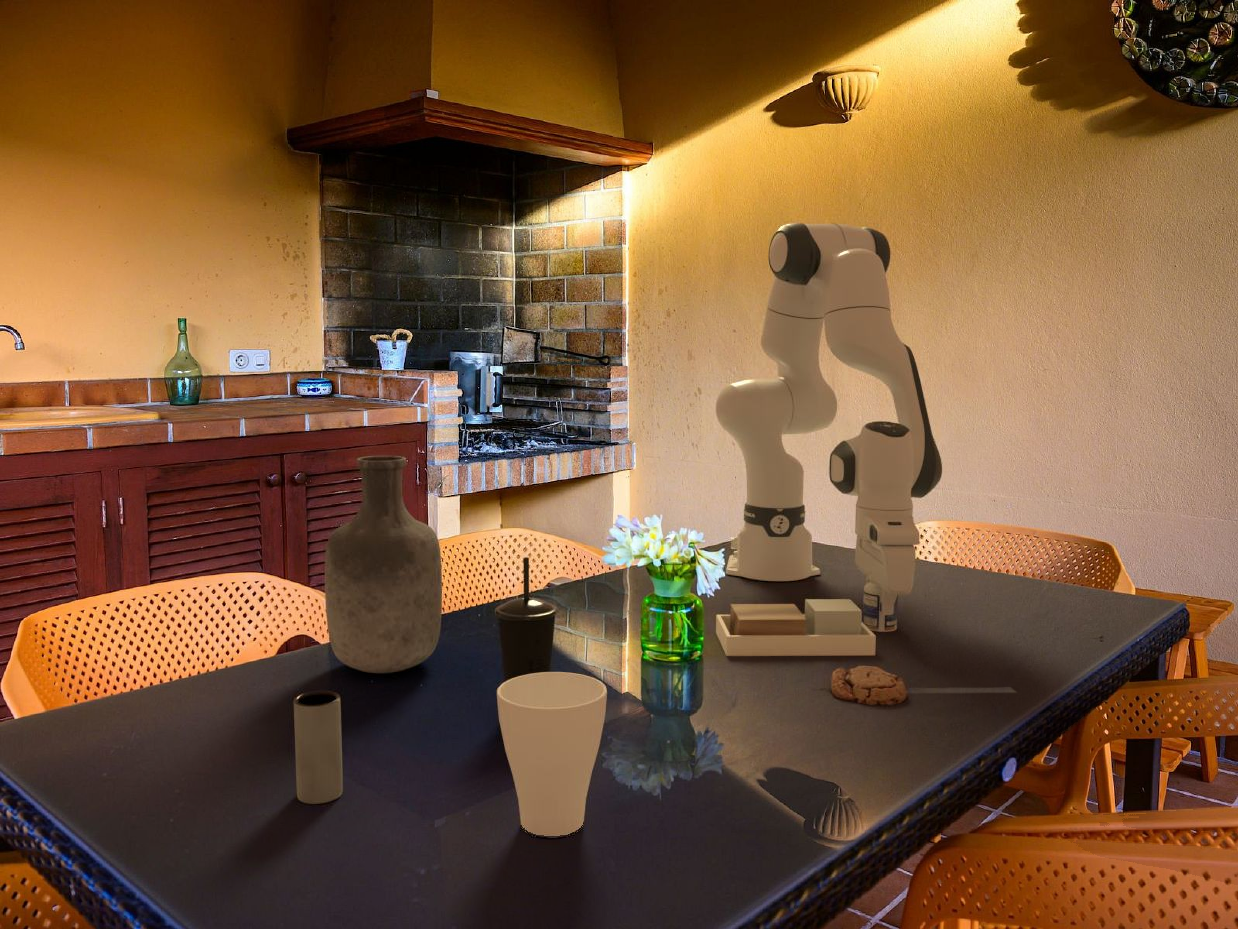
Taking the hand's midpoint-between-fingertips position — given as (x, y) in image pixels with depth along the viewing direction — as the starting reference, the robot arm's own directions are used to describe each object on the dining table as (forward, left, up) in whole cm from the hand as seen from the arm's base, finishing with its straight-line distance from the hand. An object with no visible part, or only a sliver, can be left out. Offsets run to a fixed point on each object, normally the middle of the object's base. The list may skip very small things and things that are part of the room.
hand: (880, 608), depth 166 cm
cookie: (+29, -10, -4) cm, 31 cm away
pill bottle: (0, 0, -4) cm, 4 cm away
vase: (+18, -76, -4) cm, 78 cm away
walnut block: (+9, -20, -3) cm, 22 cm away
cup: (+66, -51, -4) cm, 83 cm away
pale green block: (+9, -10, -3) cm, 14 cm away
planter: (+59, -75, -4) cm, 96 cm away
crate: (+9, -16, -4) cm, 19 cm away
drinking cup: (+37, -55, -4) cm, 66 cm away
